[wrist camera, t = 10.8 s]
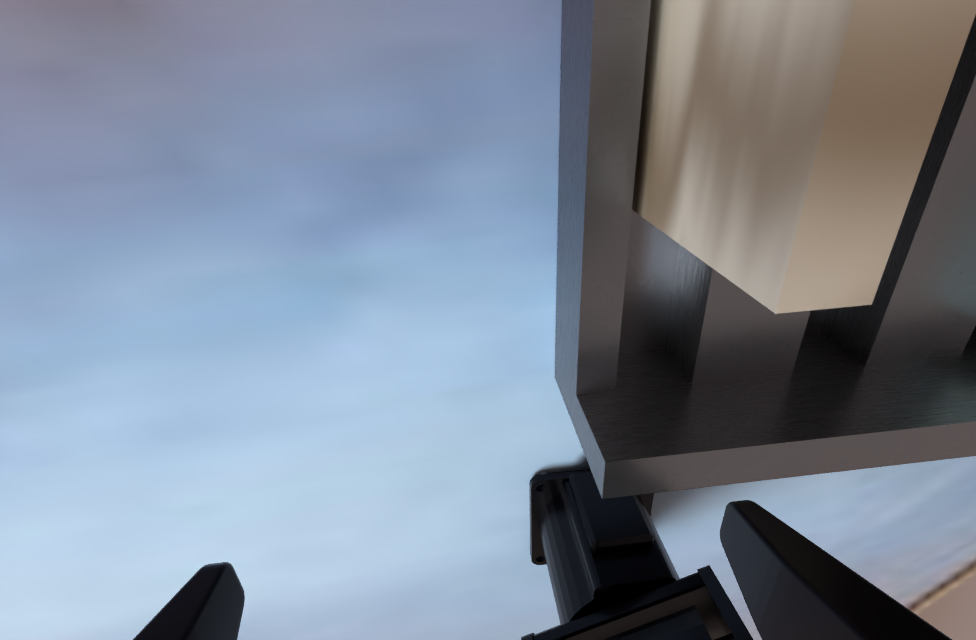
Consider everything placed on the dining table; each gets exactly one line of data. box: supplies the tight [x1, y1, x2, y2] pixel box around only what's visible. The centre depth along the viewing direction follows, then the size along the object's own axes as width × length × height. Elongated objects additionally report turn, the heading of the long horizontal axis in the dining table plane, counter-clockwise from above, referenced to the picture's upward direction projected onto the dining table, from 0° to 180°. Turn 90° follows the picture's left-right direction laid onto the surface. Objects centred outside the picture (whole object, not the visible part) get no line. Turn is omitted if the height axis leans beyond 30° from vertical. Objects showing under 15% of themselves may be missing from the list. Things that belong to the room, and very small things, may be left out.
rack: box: [555, 0, 976, 499], centre depth 14 cm, size 22×20×7 cm
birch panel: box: [632, 0, 976, 314], centre depth 12 cm, size 6×2×9 cm, turn 3°
